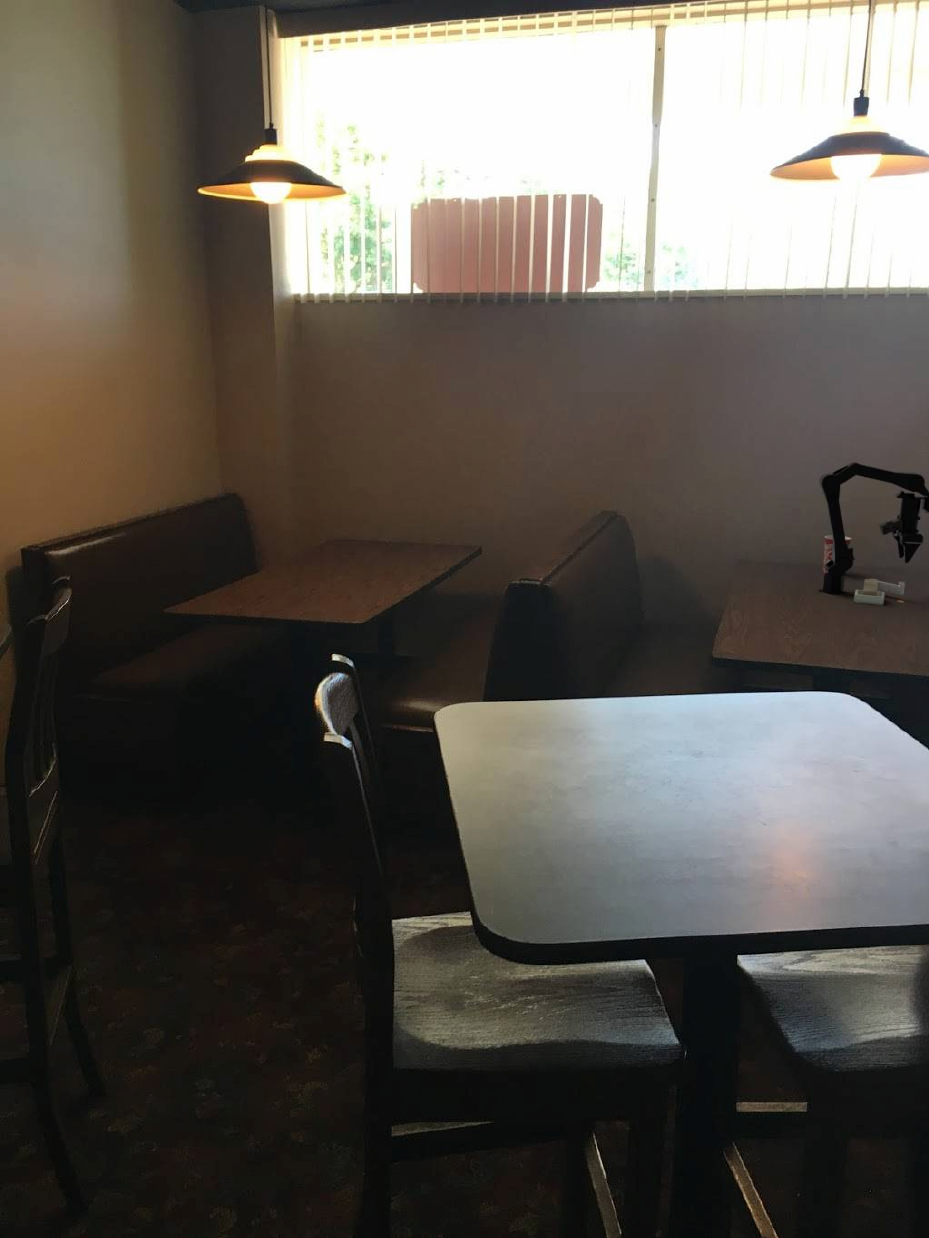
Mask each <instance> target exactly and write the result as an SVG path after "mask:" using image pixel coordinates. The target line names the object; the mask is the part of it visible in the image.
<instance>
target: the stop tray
mask: <svg viewBox="0 0 929 1238" xmlns="http://www.w3.org/2000/svg"><path fill="white" fill-rule="evenodd" d="M854 592H855V593H854V596H853V603H859V604H867V605H877V606H883V605H884V603H885V602H884V600H885V591H880V592H877V596H869V595H863V589H855V591H854Z"/></svg>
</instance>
